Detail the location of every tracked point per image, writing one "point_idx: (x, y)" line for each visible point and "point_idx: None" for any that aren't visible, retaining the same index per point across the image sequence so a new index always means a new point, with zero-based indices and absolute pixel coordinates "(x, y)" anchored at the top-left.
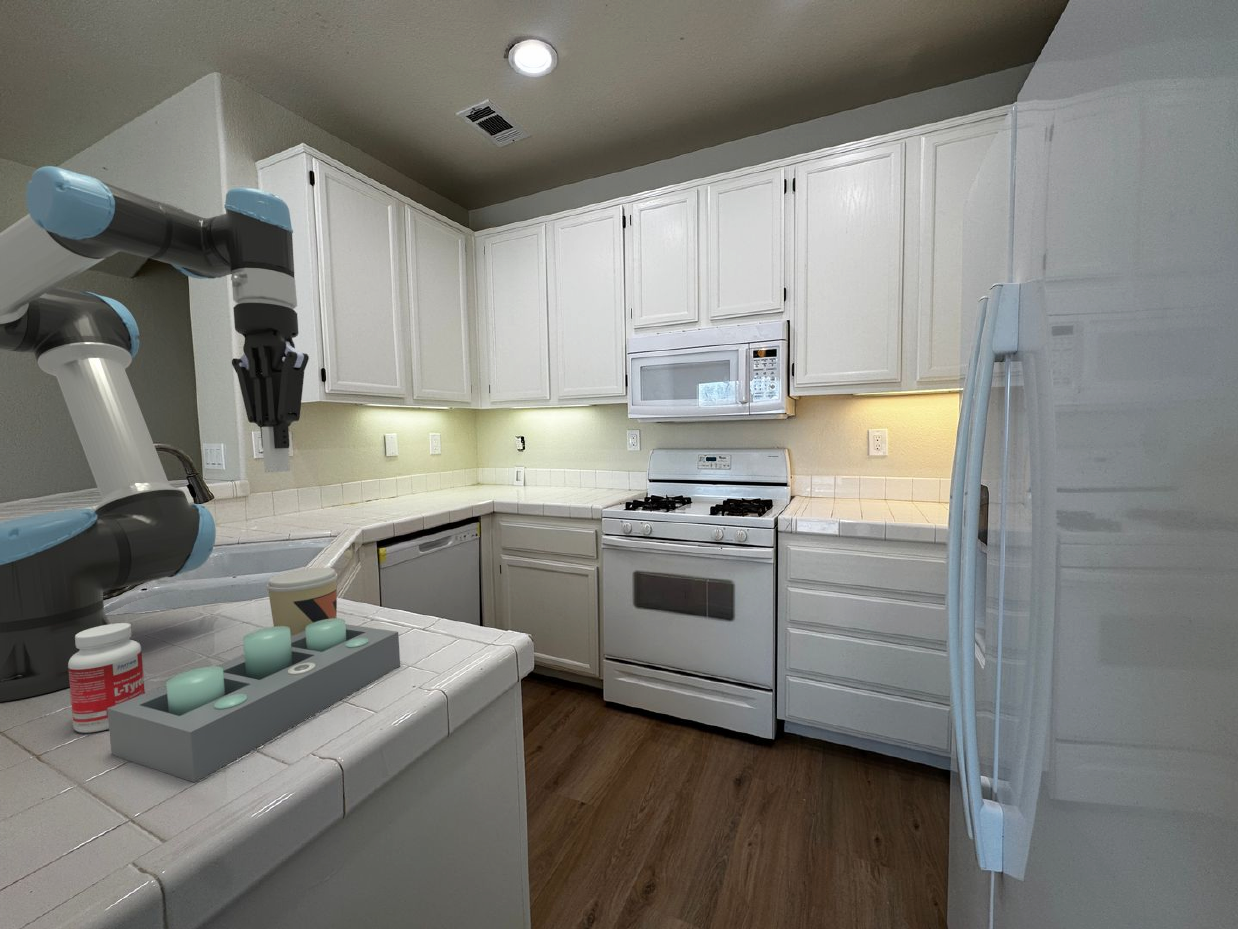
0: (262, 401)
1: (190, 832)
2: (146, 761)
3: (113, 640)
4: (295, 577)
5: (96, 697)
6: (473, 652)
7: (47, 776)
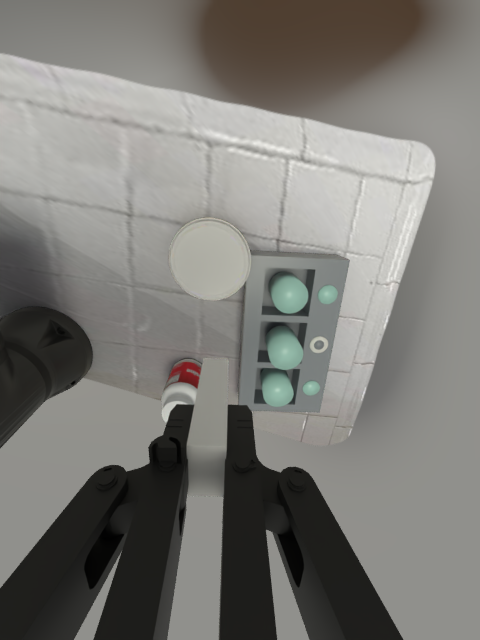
0: (169, 614)
1: (342, 412)
2: None
3: None
4: (207, 271)
5: None
6: (395, 208)
7: None
